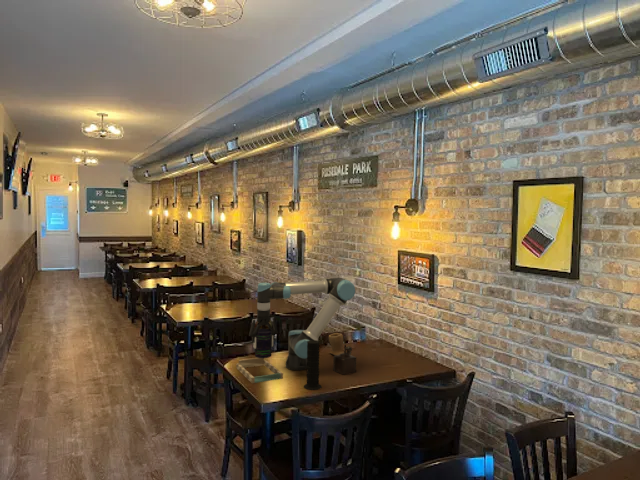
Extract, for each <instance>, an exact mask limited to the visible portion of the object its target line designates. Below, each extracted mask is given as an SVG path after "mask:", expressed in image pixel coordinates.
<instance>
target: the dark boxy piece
mask: <svg viewBox="0 0 640 480" xmlns="http://www.w3.org/2000/svg"><path fill="white" fill-rule="evenodd" d="M343 350H344V353H342V354H340V355H333V365H332V366H333V367H332V371H333V372H335V373H338V374H340V375H342V376H343V375H344V376H345V375H351V374H353V373H357V356H354V355H352V351H353V348H352V347H351V345H350V346H349V345H348V346H347V344H343ZM350 354H351V355H350Z"/></svg>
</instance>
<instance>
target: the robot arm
mask: <svg viewBox="0 0 640 480" xmlns="http://www.w3.org/2000/svg"><path fill="white" fill-rule="evenodd" d="M256 292H257V293H256V294H257V297H256V298H257V300H256V301H257V303H256V309H257V311H256V314H257V315H256V318H252V319H251V325H250V329H249V333H248V336H249V337H251V343H252V345H253V349H254V350H255V349H256V337H255V336H256V334H257V332H258V330H259V329H261V326H267V329H269V330H271V331H272V332H271V333H272V340H271V346H272V348H273V347H274V341H275V338H276V337H275V336H276V335H278V333H279V332H278V329H277V328H278V327H277V324H276V318H275V317H274V316H273V317H271V300H285V299H290V298H291V295H304V294H307V295H308V294H320V293H323V294H325V295H329V296H328V299H327V300H326V301H325V302H324V304H323V306H322V308H321V309H320V311H319V310H318V313H317V314H316V316H315V317H314V319H312V321H311V323H310V324H309V326H308V327H307V329H294V330H289V331H288V350H287V351H288V352H287V354H288V355H287V358H286V360H285V365H284V366H285V368H286V369H288V370H291V371H304V370H307V341H310V340H317V341H319V337H320V336H321V334H322V333H323V332H324V331H325V329H326V327H327V326H328V325H329V323H330V322H331V320H332V319H333V318H334V316H335V314H336V313H337V312H338V311H339V309H340V308H341V307H342V306H345V305H346V303H347V302H348V301H349V300H352V299H353V298H354V296H355V294H356V287H355V285H354V283H353V282H352V281H350V280H348V279H346V278H343V277H332V278H324V279H323V280H312V281H311V280H310V281H309V280H306V281H292V282H291V281H290V282H288V281H287V282H278V281H273V282H272V283H270V282H259V283H258V284H257V291H256ZM270 321H271V324H272V326H271V324H270ZM256 323H257V324H256Z"/></svg>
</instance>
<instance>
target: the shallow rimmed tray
mask: <svg viewBox="0 0 640 480" xmlns="http://www.w3.org/2000/svg"><path fill="white" fill-rule="evenodd" d="M235 365H236V369H237V371H239V372H240V373H241V374H242V375H243V376H244V377H245V378H246V379H247V380H248V381H249V382H250V383H251V384H257V383H262V382H269V381H276V380H281V379H284V373H283V372H282V371H281V370H279V369H278V368H276V367H275V366H274V365H273V364H271V363H270V362H269V361H268V360H266V359H265V358H257V357H251V358H243V359H238V362H237V363H236V364H235ZM254 366H255V367H261V366H264V367H265V368H266V369H268V370H269V371H270V372H271V373H270V374H265V375H257V376H253V375H252V374H251V372H249V371H248V370H247V367H248V368H254Z"/></svg>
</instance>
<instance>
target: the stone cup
mask: <svg viewBox="0 0 640 480" xmlns="http://www.w3.org/2000/svg"><path fill="white" fill-rule="evenodd" d="M328 342H329V345H330V346H331V350H330V351H329V354H331V355H333V356H335V355H340V354H342V353H344V335H343V334H342V332H341V333H340V332H339V333H338V332H336V333H335V332H334V333H331V334H329V335H328ZM350 355H352V353H351V354H350Z"/></svg>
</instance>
